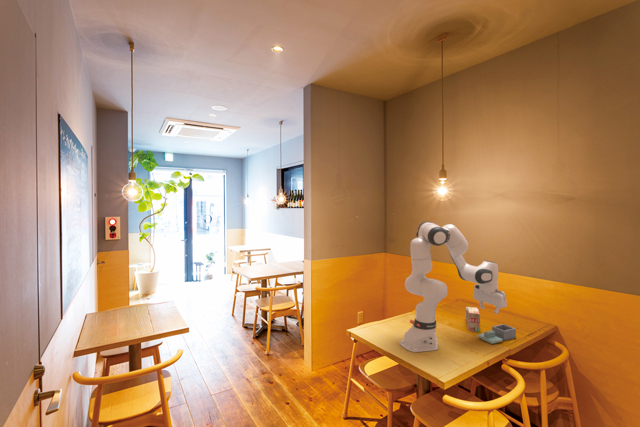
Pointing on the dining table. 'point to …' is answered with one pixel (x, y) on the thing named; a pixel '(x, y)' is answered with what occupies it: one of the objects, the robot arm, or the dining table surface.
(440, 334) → the dining table surface
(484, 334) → the lid
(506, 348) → the dining table surface
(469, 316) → the stack of blocks
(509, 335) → the storage box
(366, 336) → the dining table surface
